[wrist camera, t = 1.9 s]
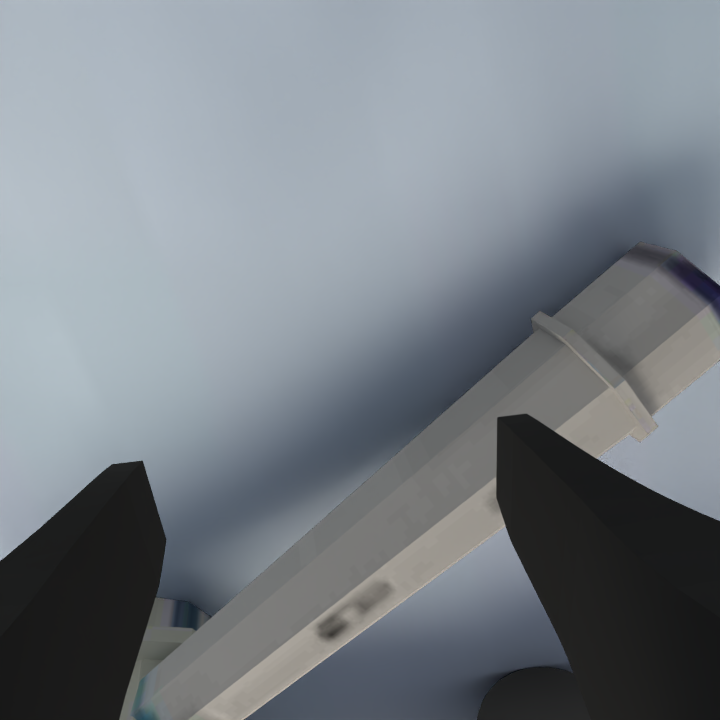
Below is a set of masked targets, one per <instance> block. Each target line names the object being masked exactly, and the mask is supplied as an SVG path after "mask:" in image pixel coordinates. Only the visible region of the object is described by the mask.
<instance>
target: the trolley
mask: <svg viewBox="0 0 720 720" xmlns="http://www.w3.org/2000/svg"><path fill="white" fill-rule="evenodd" d="M477 720H591V719H590V716H589V713H588V710H587V708H586V705H585V702H584V700H583V697H582V694H581V692H580V689H579V686H578V684H577V681H576V678H575V676H574V673H571V672H568V671H564V670H560V669H554V668H543V667H538V668H528V669H523V670H520V671H517V672H514V673H512V674H510V675H508V676H506V677H504V678H503V679H501V680H500V681H498V682H497V683H496V684H495V685H494V686H493V687H492V688H491V689H490V691H489V692H488V693H487V694H486V696H485V698H484V700H483V702H482V704H481V707H480V709H479V713H478V717H477Z"/></svg>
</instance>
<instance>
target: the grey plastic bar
mask: <svg viewBox="0 0 720 720" xmlns="http://www.w3.org/2000/svg"><path fill="white" fill-rule="evenodd" d="M531 322H532V328H533V334H532V335H531V336H530V337H528V338H527V339H526V340H525V341H524V342H523V343H522V344H521V345H519V346H518V347H517V348H516V349H515V350H514V351H513V352H512V353H510V354H509V355H508V356H507V357H506V358H505V359H504V360H502V361H501V362H500V363H499V364H498V365H497V366H496V367H495V368H493V369H492V370H491V371H490V372H489V373H488V374H487V375H485V376H484V377H483V378H482V379H481V380H480V381H479V382H478V383H476V384H475V385H474V386H473V387H472V388H471V389H470V390H468V391H467V392H466V393H465V394H464V395H463V396H462V397H461V398H459V399H458V400H457V401H456V402H455V403H454V404H453V405H452V406H450V407H449V408H448V409H447V410H446V411H445V412H444V413H442V414H441V415H440V416H439V417H438V418H437V419H436V420H435V421H433V422H432V423H431V424H430V425H429V426H428V427H427V428H425V429H424V430H423V431H422V432H421V433H420V434H419V435H418V436H416V437H415V438H414V439H413V440H412V441H411V442H410V443H408V444H407V445H406V446H405V447H404V448H403V449H402V450H401V451H399V452H398V453H397V454H396V455H395V456H394V457H393V458H392V459H390V460H389V461H388V462H387V463H386V464H385V465H384V466H382V467H381V468H380V469H379V470H378V471H377V472H376V473H375V474H373V475H372V476H371V477H370V478H369V479H368V480H367V481H365V482H364V483H363V484H362V485H361V486H360V487H359V488H358V489H356V490H355V491H354V492H353V493H352V494H351V495H350V496H348V497H347V498H346V499H345V500H344V501H343V502H342V503H341V504H339V505H338V506H337V507H336V508H335V509H334V510H333V511H332V512H330V513H329V514H328V515H327V516H326V517H325V518H324V519H322V520H321V521H320V522H319V523H318V524H317V525H316V526H315V527H313V528H312V529H311V530H310V531H309V532H308V533H307V534H305V535H304V536H303V537H302V538H301V539H300V540H299V541H298V542H296V543H295V544H294V545H293V546H292V547H291V548H290V549H289V550H287V551H286V552H285V553H284V554H283V555H282V556H281V557H279V558H278V559H277V560H276V561H275V562H274V563H273V564H272V565H270V566H269V567H268V568H267V569H266V570H265V571H264V572H262V573H261V574H260V575H259V576H258V577H257V578H256V579H255V580H253V581H252V582H251V583H250V584H249V585H248V586H247V587H245V588H244V589H243V590H242V591H241V592H240V593H239V594H238V595H236V596H235V597H234V598H233V599H232V600H231V601H230V602H229V603H227V604H226V605H225V606H224V607H223V608H222V609H221V610H219V611H218V612H217V613H216V614H215V615H214V616H213V617H212V618H211V617H210V616H208V615H207V614H206V613H204V612H203V611H201V610H200V609H198V608H197V607H196V606H194V605H193V604H191V603H190V602H186V601H179V600H171V599H163V598H155V601H154V604H153V608H152V611H151V614H150V618H149V621H148V624H147V628H146V631H145V634H144V637H143V641H142V644H141V647H140V650H139V654H138V657H137V660H136V663H135V666H134V670H133V673H132V676H131V679H130V683H129V686H128V689H127V692H126V696H125V700H124V703H123V707H122V711H121V715H120V719H119V720H244V719H245V718H247V717H248V716H249V715H251V714H252V713H253V712H255V711H256V710H257V709H259V708H260V707H262V706H263V705H264V704H266V703H267V702H268V701H270V700H271V699H272V698H274V697H275V696H276V695H278V694H279V693H280V692H282V691H283V690H285V689H286V688H287V687H289V686H290V685H291V684H293V683H294V682H295V681H297V680H298V679H299V678H301V677H302V676H303V675H305V674H306V673H308V672H309V671H310V670H312V669H313V668H314V667H316V666H317V665H318V664H320V663H321V662H322V661H324V660H325V659H326V658H328V657H329V656H331V655H332V654H333V653H335V652H336V651H337V650H339V649H340V648H341V647H343V646H344V645H345V644H347V643H348V642H349V641H351V640H352V639H354V638H355V637H356V636H358V635H359V634H360V633H362V632H363V631H364V630H366V629H367V628H368V627H370V626H371V625H372V624H374V623H375V622H377V621H378V620H379V619H381V618H382V617H383V616H385V615H386V614H387V613H389V612H390V611H391V610H393V609H394V608H395V607H397V606H398V605H400V604H401V603H402V602H404V601H405V600H406V599H408V598H409V597H410V596H412V595H413V594H414V593H416V592H417V591H418V590H420V589H421V588H423V587H424V586H425V585H427V584H428V583H429V582H431V581H432V580H433V579H435V578H436V577H437V576H439V575H440V574H441V573H443V572H444V571H446V570H447V569H448V568H450V567H451V566H452V565H454V564H455V563H456V562H458V561H459V560H460V559H462V558H463V557H464V556H466V555H467V554H469V553H470V552H471V551H473V550H474V549H475V548H477V547H478V546H479V545H481V544H482V543H483V542H485V541H486V540H487V539H489V538H490V537H492V536H493V535H494V534H496V533H497V532H498V531H500V530H501V529H502V528H504V527H505V526H506V525H505V523H504V520H503V517H502V514H501V511H500V507H499V504H498V501H497V498H496V469H497V417H502V416H510V415H518V414H526V413H527V414H528V415H530V416H532V417H533V418H535V419H536V420H538V421H540V422H541V423H543V424H544V425H546V426H547V427H549V428H550V429H552V430H553V431H555V432H556V433H558V434H559V435H561V436H562V437H564V438H565V439H567V440H568V441H570V442H571V443H573V444H574V445H576V446H577V447H579V448H580V449H582V450H584V451H585V452H587V453H588V454H590V455H592V456H593V457H595V458H596V459H597V458H598V457H600V456H601V455H602V454H604V453H605V452H607V451H608V450H609V449H611V448H612V447H613V446H615V445H616V444H617V443H619V442H620V441H621V440H623V439H624V438H625V437H627V436H628V435H631V436H632V437H633V438H635V439H636V440H637V441H639V442H641V441H642V440H644V439H645V438H646V437H647V436H648V435H650V434H651V433H652V432H653V431H654V430H655V429H656V428H657V427H658V425H657V424H656V423H655V421H654V420H653V418H652V416H653V415H654V414H655V413H657V412H658V411H659V410H660V409H661V408H663V407H664V406H665V405H666V404H668V403H669V402H670V401H671V400H672V399H674V398H675V397H676V396H677V395H678V394H680V393H681V392H682V391H683V390H685V389H686V388H687V387H688V386H689V385H691V384H692V383H693V382H694V381H696V380H697V379H698V378H699V377H700V376H702V375H703V374H704V373H705V372H706V371H708V370H709V369H710V368H711V367H713V366H714V365H715V364H716V363H717V362H719V361H720V286H719V285H718V284H717V283H716V282H715V281H713V280H712V279H711V278H710V277H708V276H707V275H706V274H705V273H704V272H702V271H701V270H700V269H699V268H697V267H696V266H695V265H694V264H693V263H691V262H690V261H689V260H688V259H686V258H685V257H684V256H683V255H681V254H680V253H679V252H678V251H676V250H672V249H668V248H663V247H659V246H655V245H651V244H647V243H643V242H639V243H638V244H637V245H636V246H635V247H633V248H632V249H631V250H630V251H629V252H627V253H626V254H625V255H624V256H623V257H622V258H620V259H619V260H618V261H617V262H616V263H615V264H613V265H612V266H611V267H610V268H609V269H608V270H606V271H605V272H604V273H603V274H602V275H601V276H599V277H598V278H597V279H596V280H595V281H594V282H592V283H591V284H590V285H589V286H588V287H587V288H585V289H584V290H583V291H582V292H581V293H580V294H578V295H577V296H576V297H575V298H574V299H573V300H571V301H570V302H569V303H568V304H567V305H566V306H564V307H563V308H562V309H561V310H560V311H559V312H557V313H556V314H555V315H554V316H553V317H550V316H548V315H546V314H545V313H543V312H541V311H539V312H538V313H537V314H536V315H534V316H533V317H532V318H531Z"/></svg>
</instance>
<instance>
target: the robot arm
mask: <svg viewBox="0 0 720 720" xmlns="http://www.w3.org/2000/svg"><path fill="white" fill-rule="evenodd" d="M496 498H497V501H498V504H499V507H500V511H501V514H502V517H503V520H504V523H505V525H506V528H507V531H508V534H509V537H510V540H511V542H512V544H513V546H514V548H515V550H516V552H517V554H518V556H519V558H520V560H521V562H522V564H523V567H524V569H525V571H526V573H527V575H528V577H529V579H530V581H531V583H532V585H533V587H534V589H535V591H536V593H537V595H538V597H539V599H540V601H541V603H542V605H543V607H544V609H545V611H546V613H547V615H548V617H549V619H550V621H551V623H552V625H553V627H554V629H555V631H556V633H557V635H558V637H559V639H560V642H561V644H562V646H563V648H564V651H565V653H566V655H567V657H568V660H569V663H570V665H571V668H572V670H573V673H574V676H575V678H576V681H577V684H578V686H579V689H580V692H581V694H582V697H583V700H584V702H585V705H586V708H587V710H588V713H589V716H590V719H591V720H720V521H718V520H716V519H713V518H711V517H709V516H706V515H704V514H701V513H699V512H697V511H695V510H693V509H690V508H688V507H686V506H684V505H682V504H680V503H677V502H675V501H673V500H671V499H669V498H667V497H664V496H662V495H660V494H658V493H657V492H655V491H653V490H651V489H649V488H647V487H645V486H643V485H641V484H640V483H638V482H636V481H634V480H632V479H630V478H629V477H627V476H625V475H623V474H621V473H620V472H618V471H616V470H615V469H613V468H611V467H609V466H608V465H606V464H604V463H603V462H601V461H600V460H598V459H596V458H595V457H593V456H592V455H590V454H588V453H587V452H585V451H584V450H582V449H580V448H579V447H577V446H576V445H574V444H573V443H571V442H570V441H568V440H567V439H565V438H564V437H562V436H561V435H559V434H558V433H556V432H555V431H553V430H552V429H550V428H549V427H547V426H546V425H544V424H543V423H541V422H540V421H538V420H536V419H535V418H533V417H532V416H530V415H528V414H527V413H526V414H518V415H510V416H502V417H497V469H496ZM165 545H166V537H165V534H164V530H163V527H162V524H161V520H160V517H159V514H158V510H157V507H156V504H155V500H154V497H153V494H152V490H151V487H150V484H149V480H148V477H147V474H146V470H145V467H144V464H143V461H136V462H128V463H119V464H112V465H111V466H109V467H108V468H107V469H106V470H104V471H103V472H102V473H101V474H100V475H98V476H97V477H96V478H95V479H94V480H93V481H92V482H91V483H89V484H88V485H87V486H86V487H85V488H84V489H83V490H82V491H81V492H80V493H78V494H77V495H76V496H75V497H74V498H73V499H72V500H71V501H70V502H69V503H67V504H66V505H65V506H64V507H63V508H62V509H61V510H60V511H59V512H57V513H56V514H55V515H54V516H53V517H52V518H51V519H50V520H48V521H47V522H46V523H45V524H44V525H43V526H42V527H41V528H40V529H38V530H37V531H36V532H35V533H34V534H32V535H31V536H30V537H29V538H28V539H26V540H25V541H24V542H23V543H22V544H20V545H19V546H18V547H17V548H16V549H14V550H13V551H12V552H11V553H10V554H8V555H7V556H6V557H5V558H4V559H2V560H1V561H0V720H119V719H120V715H121V711H122V707H123V703H124V700H125V696H126V692H127V689H128V686H129V683H130V679H131V676H132V673H133V670H134V666H135V663H136V660H137V657H138V654H139V650H140V647H141V644H142V641H143V637H144V634H145V631H146V628H147V624H148V621H149V618H150V614H151V611H152V608H153V604H154V601H155V598H156V594H157V591H158V587H159V582H160V577H161V571H162V565H163V559H164V552H165Z"/></svg>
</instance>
